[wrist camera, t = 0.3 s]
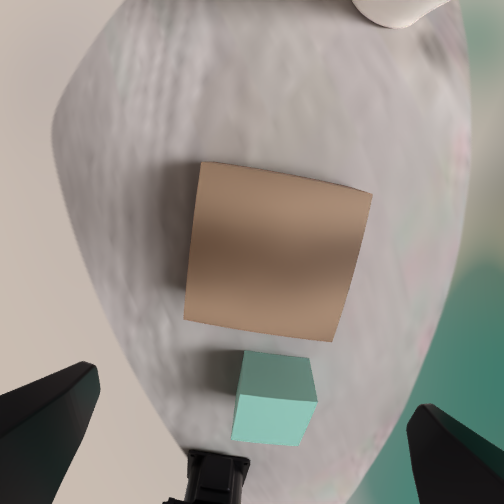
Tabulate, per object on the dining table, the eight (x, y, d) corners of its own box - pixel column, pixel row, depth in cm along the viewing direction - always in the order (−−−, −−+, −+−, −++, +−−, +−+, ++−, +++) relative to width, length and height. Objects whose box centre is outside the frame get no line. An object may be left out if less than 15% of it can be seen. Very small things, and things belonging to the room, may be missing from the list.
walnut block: (321, 311, 21) (332, 342, 18) (196, 291, 21) (183, 319, 17) (351, 187, 19) (372, 194, 15) (213, 161, 19) (201, 162, 15)
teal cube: (294, 402, 24) (298, 445, 19) (235, 395, 24) (230, 439, 19) (308, 357, 22) (317, 402, 18) (244, 349, 22) (240, 394, 18)
